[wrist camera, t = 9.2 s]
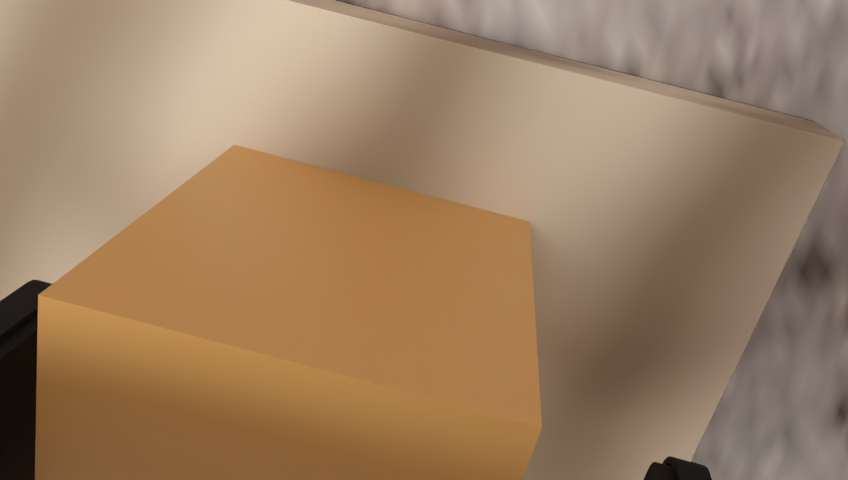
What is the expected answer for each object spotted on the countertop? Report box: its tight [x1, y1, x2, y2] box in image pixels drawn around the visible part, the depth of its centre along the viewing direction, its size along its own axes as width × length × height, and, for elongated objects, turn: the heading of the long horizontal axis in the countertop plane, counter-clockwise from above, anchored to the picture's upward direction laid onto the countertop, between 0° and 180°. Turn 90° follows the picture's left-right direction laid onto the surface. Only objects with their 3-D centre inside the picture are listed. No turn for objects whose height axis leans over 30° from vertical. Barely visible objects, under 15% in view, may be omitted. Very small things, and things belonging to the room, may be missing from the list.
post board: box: [0, 0, 845, 480], centre depth 14 cm, size 16×12×6 cm
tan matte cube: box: [35, 145, 542, 480], centre depth 13 cm, size 6×6×6 cm
